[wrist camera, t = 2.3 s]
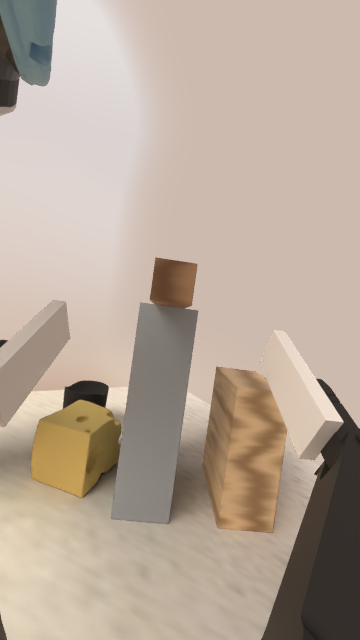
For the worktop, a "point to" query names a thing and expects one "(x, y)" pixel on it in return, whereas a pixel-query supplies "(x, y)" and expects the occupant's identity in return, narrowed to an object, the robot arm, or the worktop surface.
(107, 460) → the cheese
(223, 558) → the worktop surface
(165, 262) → the walnut block
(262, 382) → the oak block
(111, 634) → the worktop surface
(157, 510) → the slate-grey stand
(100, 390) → the pen holder
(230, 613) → the worktop surface
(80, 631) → the worktop surface
